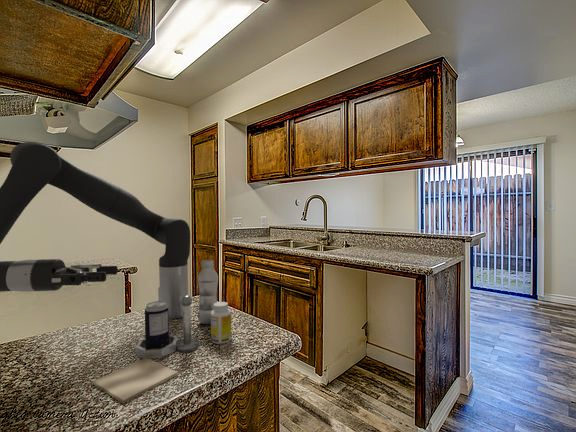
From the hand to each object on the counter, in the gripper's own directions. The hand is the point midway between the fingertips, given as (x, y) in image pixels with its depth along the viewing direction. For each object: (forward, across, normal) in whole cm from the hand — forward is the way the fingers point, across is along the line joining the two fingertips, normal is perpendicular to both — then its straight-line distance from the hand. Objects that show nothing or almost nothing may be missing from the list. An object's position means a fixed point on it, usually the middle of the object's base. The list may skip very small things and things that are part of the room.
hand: (111, 273), depth 78 cm
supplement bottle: (+27, +2, +20) cm, 34 cm away
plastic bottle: (+24, +16, +20) cm, 35 cm away
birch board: (+9, -14, +21) cm, 26 cm away
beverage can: (+11, 0, +20) cm, 23 cm away
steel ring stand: (+13, 0, +20) cm, 24 cm away
